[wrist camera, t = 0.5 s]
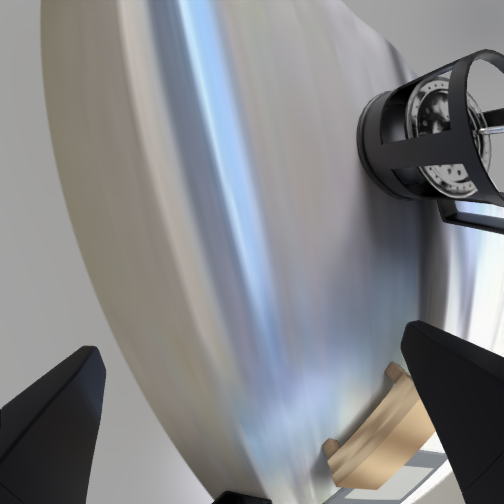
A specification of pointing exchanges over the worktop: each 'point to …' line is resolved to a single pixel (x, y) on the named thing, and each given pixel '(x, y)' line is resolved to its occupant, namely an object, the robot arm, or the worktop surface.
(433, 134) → the french press
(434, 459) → the charcoal mat
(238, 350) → the worktop surface
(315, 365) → the worktop surface
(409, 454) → the oak stool
